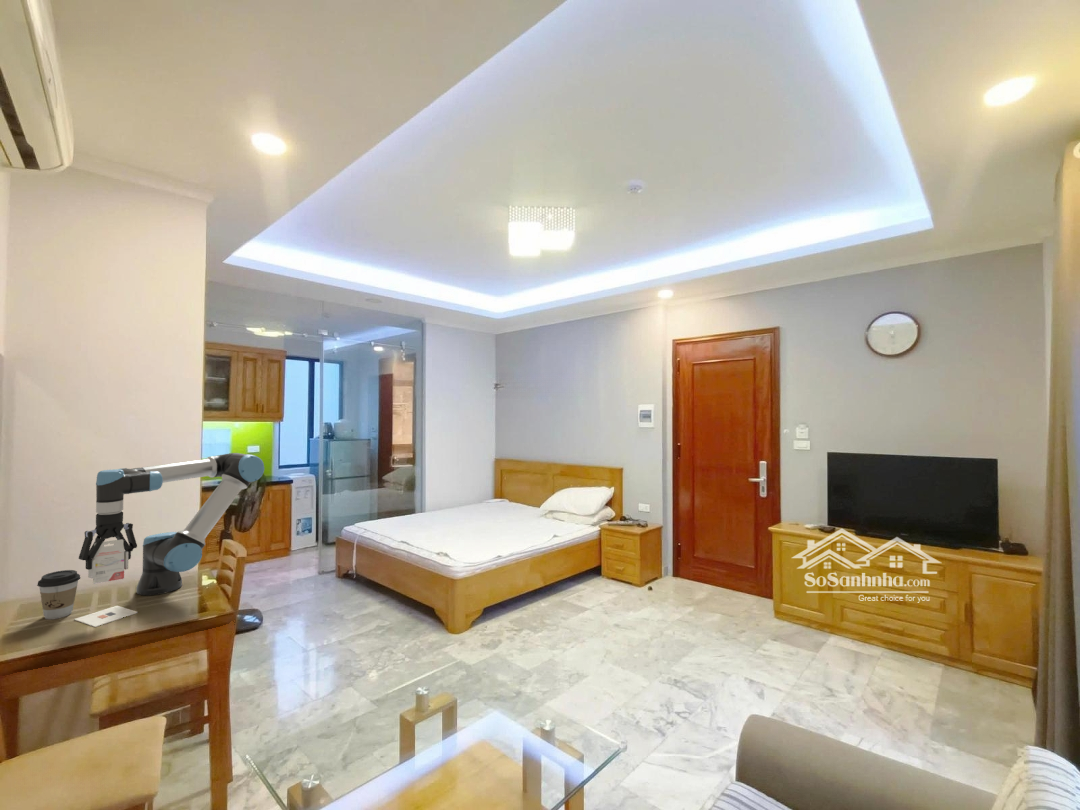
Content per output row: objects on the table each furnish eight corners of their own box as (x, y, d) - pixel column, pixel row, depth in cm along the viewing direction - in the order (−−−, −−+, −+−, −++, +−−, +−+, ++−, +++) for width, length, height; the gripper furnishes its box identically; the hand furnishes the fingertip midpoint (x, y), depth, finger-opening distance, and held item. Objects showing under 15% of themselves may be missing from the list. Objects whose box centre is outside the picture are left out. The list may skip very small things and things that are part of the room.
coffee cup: (31, 624, 170) (32, 581, 170) (42, 612, 180) (43, 571, 180) (75, 617, 176) (76, 576, 176) (83, 606, 186) (84, 567, 186)
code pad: (117, 606, 187) (117, 605, 187) (137, 612, 182) (137, 611, 182) (74, 619, 175) (74, 618, 175) (95, 627, 170) (95, 626, 170)
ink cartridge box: (123, 575, 183) (124, 536, 183) (124, 578, 180) (124, 539, 179) (93, 580, 178) (93, 540, 178) (92, 584, 174) (93, 543, 174)
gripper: (137, 505, 190) (136, 562, 190) (65, 517, 169) (64, 581, 170) (149, 507, 187) (148, 565, 187) (77, 520, 167) (76, 585, 167)
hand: (108, 573), depth 179 cm, fingers closed on ink cartridge box, 9 cm apart
